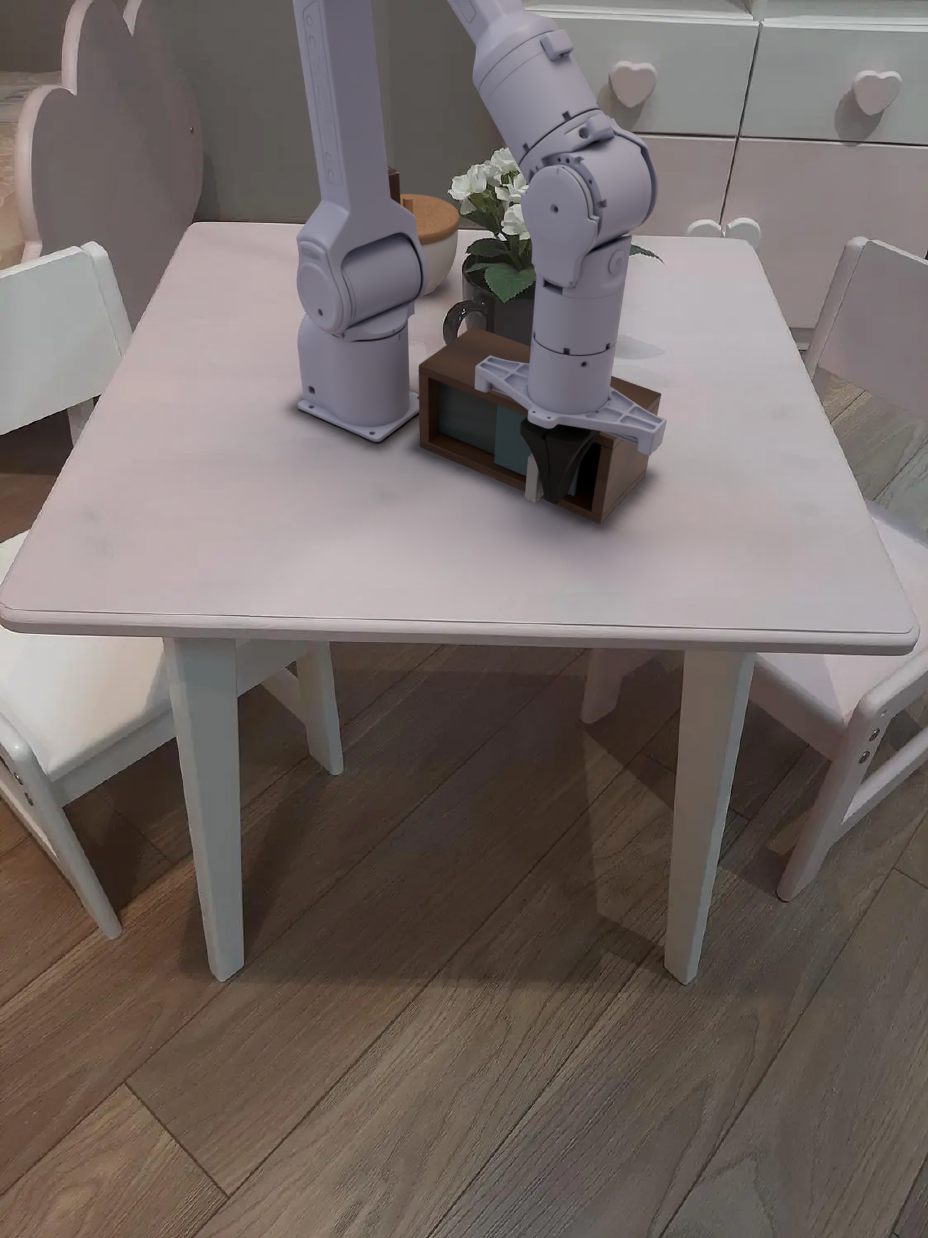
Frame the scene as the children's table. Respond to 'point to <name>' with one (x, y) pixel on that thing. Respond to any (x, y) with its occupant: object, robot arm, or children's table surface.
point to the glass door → (519, 452)
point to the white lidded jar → (434, 234)
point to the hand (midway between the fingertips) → (556, 495)
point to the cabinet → (468, 416)
